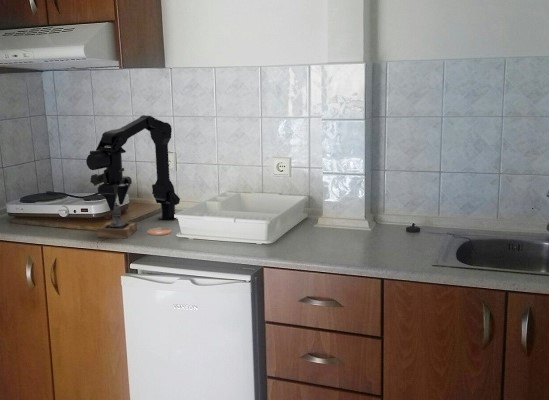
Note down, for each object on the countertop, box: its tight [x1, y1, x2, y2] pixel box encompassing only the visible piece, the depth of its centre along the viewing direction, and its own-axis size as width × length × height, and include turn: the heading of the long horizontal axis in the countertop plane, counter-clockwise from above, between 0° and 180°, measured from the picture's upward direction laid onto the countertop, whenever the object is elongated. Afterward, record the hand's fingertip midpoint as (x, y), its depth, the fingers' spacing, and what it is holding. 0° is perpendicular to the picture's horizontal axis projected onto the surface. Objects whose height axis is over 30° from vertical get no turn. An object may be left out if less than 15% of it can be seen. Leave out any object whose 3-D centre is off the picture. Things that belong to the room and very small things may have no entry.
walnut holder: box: [96, 221, 138, 239], centre depth 231 cm, size 11×11×3 cm
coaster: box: [147, 227, 173, 236], centre depth 233 cm, size 9×9×1 cm
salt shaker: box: [109, 202, 125, 229], centre depth 230 cm, size 6×6×12 cm
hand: (116, 207), depth 229 cm, fingers open, 9 cm apart
